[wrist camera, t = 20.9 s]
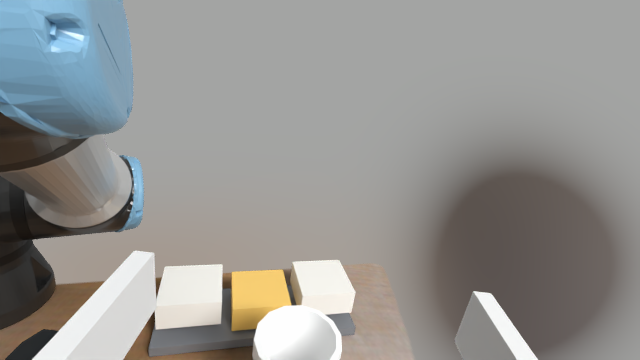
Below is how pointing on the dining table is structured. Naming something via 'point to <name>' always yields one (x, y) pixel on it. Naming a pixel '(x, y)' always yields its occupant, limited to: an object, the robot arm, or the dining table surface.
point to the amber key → (256, 296)
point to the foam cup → (296, 335)
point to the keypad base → (221, 332)
